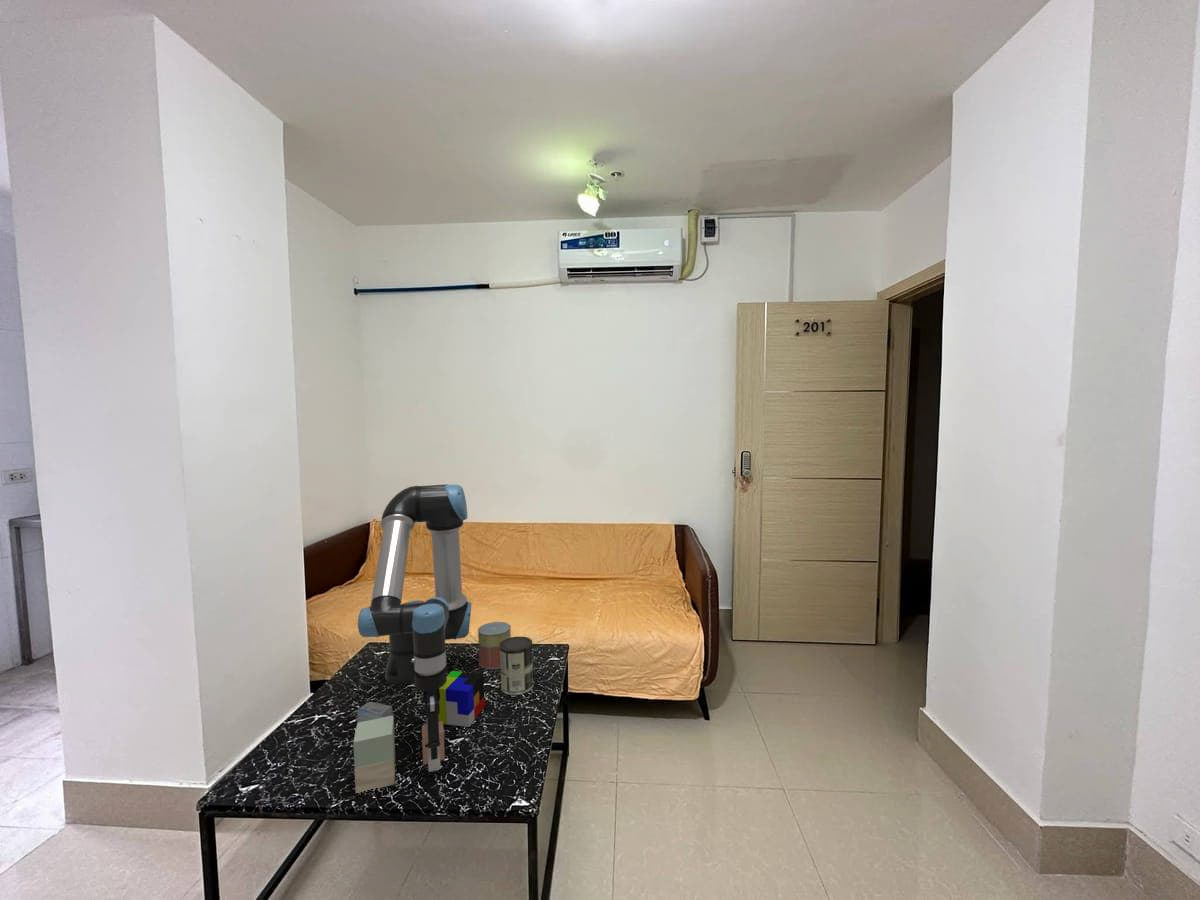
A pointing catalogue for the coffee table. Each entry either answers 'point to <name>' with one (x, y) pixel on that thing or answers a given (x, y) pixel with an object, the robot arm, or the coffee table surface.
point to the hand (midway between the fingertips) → (433, 755)
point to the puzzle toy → (461, 698)
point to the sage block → (374, 741)
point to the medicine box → (373, 711)
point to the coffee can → (516, 665)
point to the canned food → (492, 643)
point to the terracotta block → (425, 741)
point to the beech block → (375, 775)
